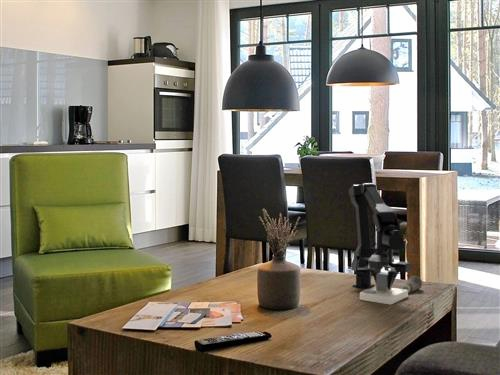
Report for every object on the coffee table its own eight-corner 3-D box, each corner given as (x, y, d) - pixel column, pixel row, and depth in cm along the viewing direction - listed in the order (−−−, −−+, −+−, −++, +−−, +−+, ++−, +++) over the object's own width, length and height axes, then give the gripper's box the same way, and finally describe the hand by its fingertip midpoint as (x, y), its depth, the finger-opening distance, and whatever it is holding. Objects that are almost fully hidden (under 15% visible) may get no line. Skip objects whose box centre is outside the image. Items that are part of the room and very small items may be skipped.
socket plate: (377, 292, 260) (377, 283, 260) (407, 296, 253) (407, 288, 253) (359, 299, 249) (359, 290, 249) (390, 304, 242) (390, 295, 242)
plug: (381, 290, 254) (381, 271, 253) (391, 292, 251) (391, 273, 251) (376, 292, 251) (376, 273, 250) (386, 294, 248) (386, 275, 248)
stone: (407, 296, 257) (424, 283, 256) (397, 285, 259) (414, 271, 258) (409, 298, 267) (425, 284, 266) (399, 286, 268) (415, 273, 268)
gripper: (350, 245, 249) (350, 289, 250) (399, 251, 238) (398, 296, 239) (365, 241, 258) (364, 283, 259) (412, 246, 247) (411, 290, 248)
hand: (383, 288), depth 251 cm, fingers closed on plug, 4 cm apart
